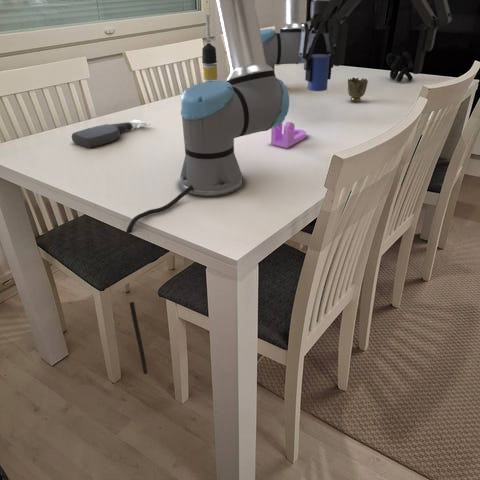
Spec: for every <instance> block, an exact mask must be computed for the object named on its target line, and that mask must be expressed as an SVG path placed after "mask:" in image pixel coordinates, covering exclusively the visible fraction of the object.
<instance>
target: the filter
mask: <svg viewBox="0 0 480 480" xmlns="http://www.w3.org/2000/svg"><path fill="white" fill-rule="evenodd" d="M210 17H211V14H204V18H205V27H206V29H205V30H206V31H205V33H206V39H207V40H206V42H207V43H206V45H204V46H202V49H201V50H202V51H201V52H202V54H201V55H202V57H201V58H202V61H201V63H202V71H203V72H202V73H203V74H202V75H203V80H204V81H206V82H213V81H218V64H216V63H218V61H217V48H216V47H215V46H214V45H212V43H210V42H211V40H210V39H211V31H210V29H211V28H210Z"/></svg>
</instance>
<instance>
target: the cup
mask: <svg viewBox="0 0 480 480" xmlns="http://www.w3.org/2000/svg"><path fill="white" fill-rule="evenodd" d="M368 82H369V79H367V78H365V77H362V78H361V79H359V77H356V78H355V77H352V78H347V93H348V96H349V97H350V101H351V102H354V103H359V102H360V101H361V98H363V96H365V94H366V92H367V91H366V90H367V87H368Z"/></svg>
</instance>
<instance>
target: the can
mask: <svg viewBox="0 0 480 480" xmlns="http://www.w3.org/2000/svg"><path fill="white" fill-rule="evenodd" d="M311 60H313V66H312V81H311V82H309V81H307V90H308V91H311V92H324V91H327V90H328V82H329V80H328V72H329V60H330V56H329V55H328V54H325V53H312V56H311Z"/></svg>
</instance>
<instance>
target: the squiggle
mask: <svg viewBox="0 0 480 480" xmlns="http://www.w3.org/2000/svg"><path fill="white" fill-rule="evenodd" d="M401 57H402V59H401ZM391 59H392V60H391ZM393 60H394V61H393ZM385 61H386V64H387V67H390V68H391V70H390V72H389V78H390V79H391V80H395V79H396V81H397V82H399V83H400V82H402V81H403V79H404V76H406V78H407V80H408V81H412V80H413V79H414V77H413V75H412V74H411V73H410V72H409V71H410V70H413V69H414V63H413V61H412V57H411V54H410V53H409V52H408V51H403V53H402V54H401V55H396V54H394V53H392V52H390V53H387V55H386V57H385ZM406 62H407V65H408V66H407V67H405V66H404V65H405V64H406ZM400 70H401V71H400Z"/></svg>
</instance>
